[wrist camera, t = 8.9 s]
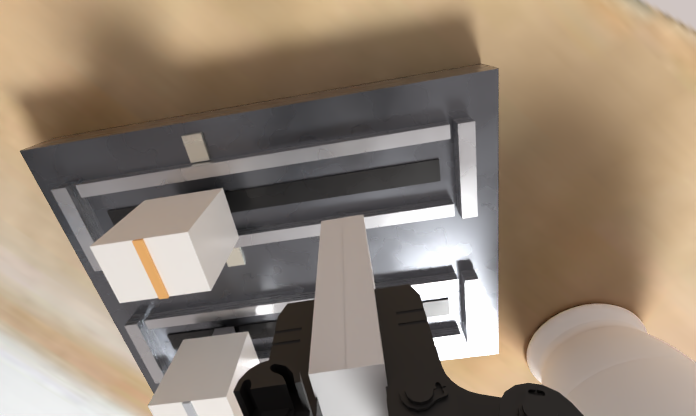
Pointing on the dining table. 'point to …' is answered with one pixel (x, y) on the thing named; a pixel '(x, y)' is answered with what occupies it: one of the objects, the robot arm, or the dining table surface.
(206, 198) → the fader
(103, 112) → the dining table surface
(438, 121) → the dark grey slotted tray
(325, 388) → the robot arm
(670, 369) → the jar
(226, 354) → the fader
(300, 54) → the dining table surface
